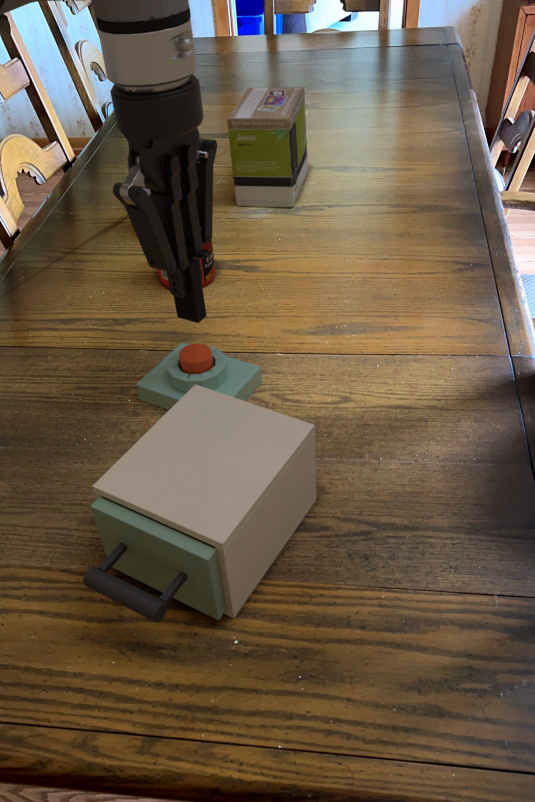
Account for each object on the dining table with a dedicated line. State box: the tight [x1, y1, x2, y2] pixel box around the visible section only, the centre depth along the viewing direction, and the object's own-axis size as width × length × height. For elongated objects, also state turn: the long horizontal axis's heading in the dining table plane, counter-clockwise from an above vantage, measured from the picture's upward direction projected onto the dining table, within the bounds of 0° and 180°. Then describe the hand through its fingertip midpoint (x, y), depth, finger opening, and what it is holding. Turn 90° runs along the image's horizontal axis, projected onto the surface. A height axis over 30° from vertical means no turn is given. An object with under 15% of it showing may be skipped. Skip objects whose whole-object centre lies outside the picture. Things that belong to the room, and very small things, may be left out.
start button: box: [179, 343, 213, 374], centre depth 79 cm, size 4×4×2 cm
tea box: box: [226, 86, 309, 208], centre depth 118 cm, size 15×10×15 cm, turn 168°
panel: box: [135, 342, 263, 411], centre depth 80 cm, size 11×9×4 cm
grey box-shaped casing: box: [92, 385, 317, 619], centre depth 63 cm, size 15×13×10 cm
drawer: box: [82, 497, 226, 624], centre depth 60 cm, size 18×11×8 cm, turn 150°
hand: (191, 316), depth 75 cm, fingers closed
